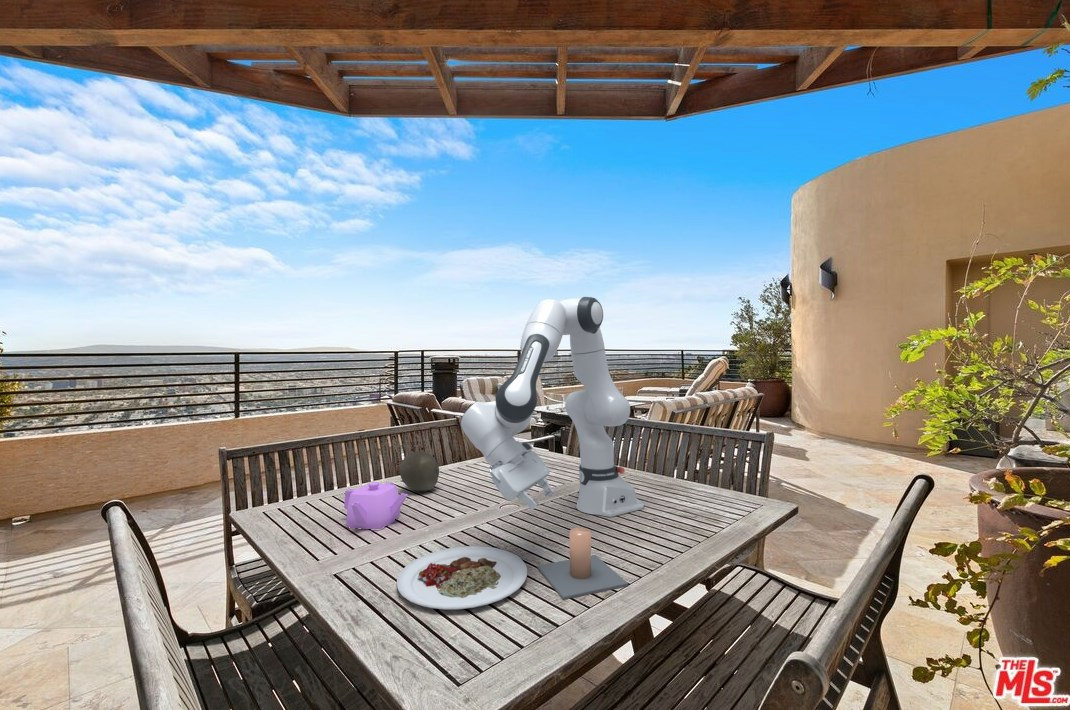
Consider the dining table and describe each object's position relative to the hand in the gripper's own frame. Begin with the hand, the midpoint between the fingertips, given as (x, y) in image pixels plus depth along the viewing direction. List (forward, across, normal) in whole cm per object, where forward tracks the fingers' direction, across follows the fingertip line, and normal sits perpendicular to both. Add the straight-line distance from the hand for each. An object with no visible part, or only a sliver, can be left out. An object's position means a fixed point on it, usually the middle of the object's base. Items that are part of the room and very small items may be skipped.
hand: (543, 501), depth 117 cm
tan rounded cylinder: (+18, 0, +5) cm, 18 cm away
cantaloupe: (-37, +40, +60) cm, 81 cm away
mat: (+18, 0, +5) cm, 19 cm away
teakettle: (-32, +8, +56) cm, 64 cm away
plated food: (+1, -12, +23) cm, 26 cm away
